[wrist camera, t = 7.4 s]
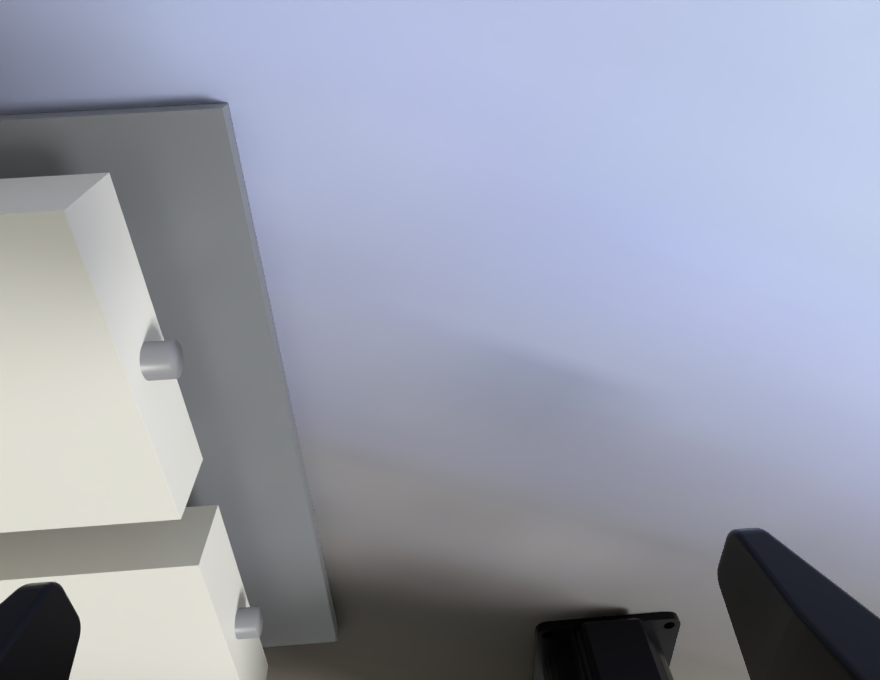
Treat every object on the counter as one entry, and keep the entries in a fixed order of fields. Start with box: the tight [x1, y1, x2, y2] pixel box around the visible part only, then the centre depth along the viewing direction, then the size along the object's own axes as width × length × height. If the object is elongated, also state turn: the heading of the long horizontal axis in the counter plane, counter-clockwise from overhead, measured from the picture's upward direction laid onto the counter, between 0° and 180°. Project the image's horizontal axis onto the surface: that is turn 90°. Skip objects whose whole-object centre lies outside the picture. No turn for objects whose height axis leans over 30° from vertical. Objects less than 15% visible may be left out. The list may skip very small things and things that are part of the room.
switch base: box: [0, 103, 338, 648], centre depth 22 cm, size 22×16×1 cm
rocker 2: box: [0, 505, 268, 680], centre depth 22 cm, size 9×12×2 cm
